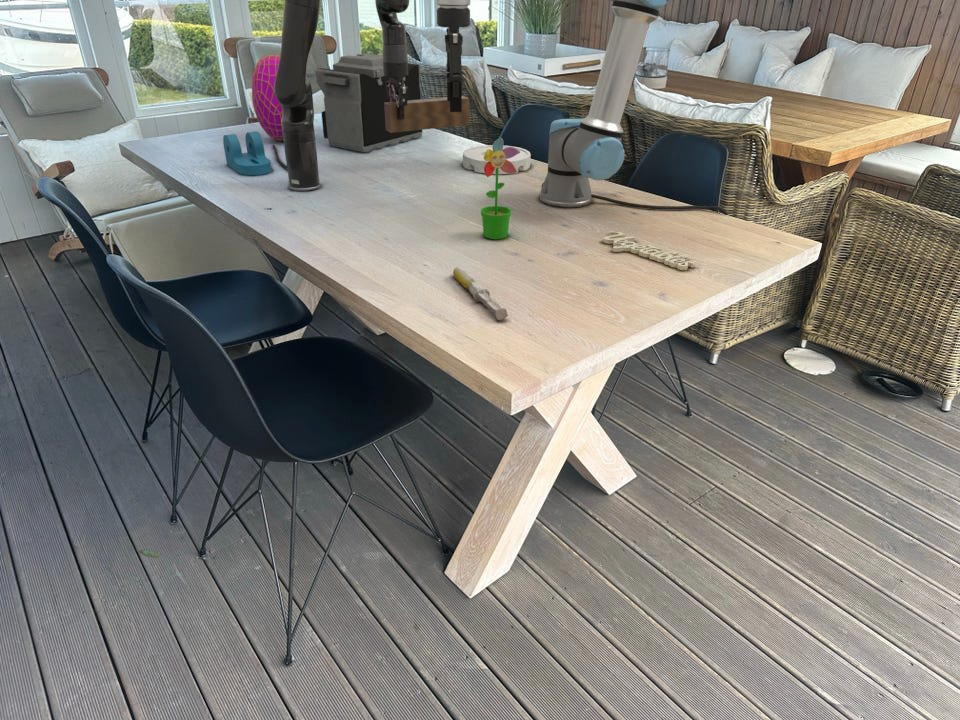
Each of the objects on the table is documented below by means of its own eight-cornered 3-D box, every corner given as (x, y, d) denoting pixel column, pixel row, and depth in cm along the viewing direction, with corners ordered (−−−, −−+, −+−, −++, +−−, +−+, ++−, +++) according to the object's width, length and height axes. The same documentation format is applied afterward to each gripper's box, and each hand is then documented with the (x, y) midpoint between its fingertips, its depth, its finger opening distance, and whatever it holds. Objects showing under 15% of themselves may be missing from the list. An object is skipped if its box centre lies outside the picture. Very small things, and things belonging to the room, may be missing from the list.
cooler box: (385, 129, 283) (380, 49, 267) (426, 136, 272) (424, 54, 256) (318, 145, 257) (309, 59, 242) (361, 155, 246) (354, 64, 231)
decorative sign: (589, 238, 172) (614, 230, 178) (588, 242, 173) (613, 233, 179) (677, 270, 156) (702, 259, 161) (677, 274, 156) (701, 263, 162)
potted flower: (487, 243, 172) (489, 140, 159) (473, 233, 178) (473, 134, 165) (519, 237, 176) (524, 137, 163) (505, 227, 182) (508, 130, 169)
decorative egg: (293, 132, 276) (283, 50, 261) (319, 140, 264) (310, 56, 249) (249, 139, 265) (236, 54, 250) (273, 148, 253) (261, 60, 238)
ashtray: (464, 155, 246) (464, 144, 244) (529, 157, 246) (529, 145, 244) (461, 173, 226) (461, 161, 224) (531, 174, 226) (531, 162, 224)
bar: (463, 122, 231) (463, 95, 227) (469, 124, 228) (469, 98, 223) (385, 129, 220) (383, 102, 216) (390, 132, 217) (389, 104, 213)
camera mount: (227, 164, 233) (221, 132, 227) (257, 160, 238) (252, 129, 233) (244, 176, 220) (239, 143, 215) (276, 172, 225) (271, 139, 220)
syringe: (449, 274, 155) (449, 263, 153) (465, 272, 156) (464, 260, 154) (490, 323, 135) (491, 310, 133) (508, 319, 136) (508, 307, 134)
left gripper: (375, 57, 214) (379, 114, 222) (391, 63, 203) (395, 123, 211) (398, 56, 216) (401, 113, 225) (415, 62, 205) (417, 121, 214)
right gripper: (435, 3, 164) (436, 97, 175) (438, 10, 143) (440, 116, 154) (466, 3, 165) (466, 96, 176) (474, 10, 143) (473, 116, 154)
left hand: (398, 117), depth 218 cm, fingers closed on bar, 4 cm apart
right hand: (454, 106), depth 165 cm, fingers open, 13 cm apart
